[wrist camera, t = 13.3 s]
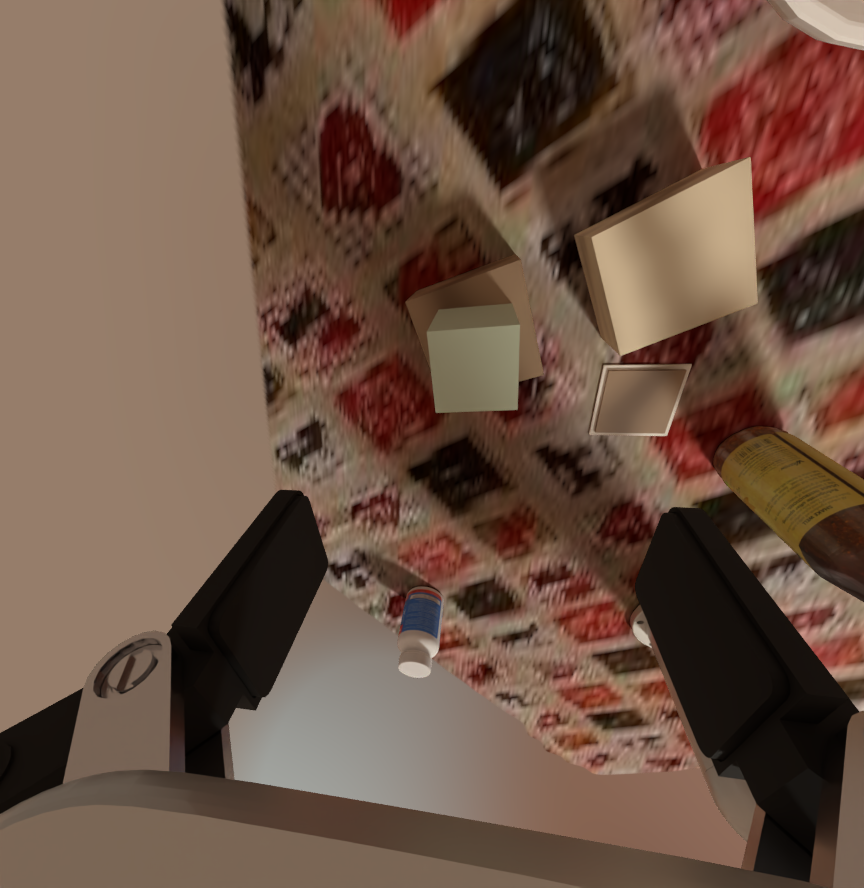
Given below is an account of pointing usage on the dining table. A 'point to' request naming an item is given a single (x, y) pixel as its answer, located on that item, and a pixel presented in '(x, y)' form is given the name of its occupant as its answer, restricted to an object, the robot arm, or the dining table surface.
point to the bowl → (826, 19)
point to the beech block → (673, 258)
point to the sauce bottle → (800, 500)
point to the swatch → (638, 399)
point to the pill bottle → (420, 631)
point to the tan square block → (481, 289)
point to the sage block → (475, 358)
